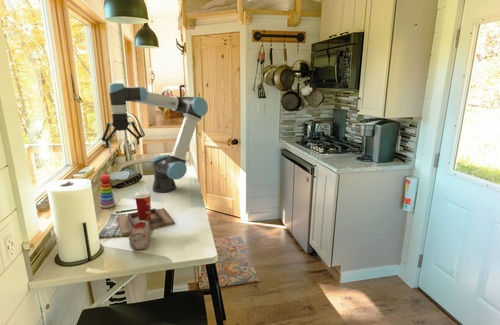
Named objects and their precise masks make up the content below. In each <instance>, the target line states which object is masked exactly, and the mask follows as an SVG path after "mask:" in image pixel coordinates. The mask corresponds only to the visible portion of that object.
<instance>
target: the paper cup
mask: <svg viewBox="0 0 500 325" xmlns="http://www.w3.org/2000/svg"><path fill="white" fill-rule="evenodd" d="M151 196H152V194H151V193H150V191H148V190H141V191H137V192H135V193H134V198H135V204H136V205H135V206H136V209H137V210H136V212H138V216H139V221H140V220H150V219H151V209H152V207H151Z"/></svg>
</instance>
